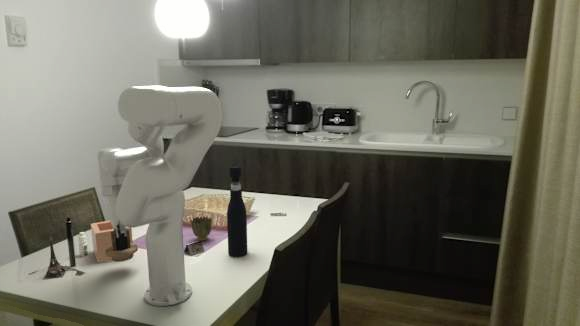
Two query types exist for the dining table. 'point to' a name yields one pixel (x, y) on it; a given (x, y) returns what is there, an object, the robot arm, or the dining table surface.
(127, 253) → the lid
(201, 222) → the cup
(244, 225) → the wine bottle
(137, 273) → the dining table surface
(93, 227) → the open-top pink box
